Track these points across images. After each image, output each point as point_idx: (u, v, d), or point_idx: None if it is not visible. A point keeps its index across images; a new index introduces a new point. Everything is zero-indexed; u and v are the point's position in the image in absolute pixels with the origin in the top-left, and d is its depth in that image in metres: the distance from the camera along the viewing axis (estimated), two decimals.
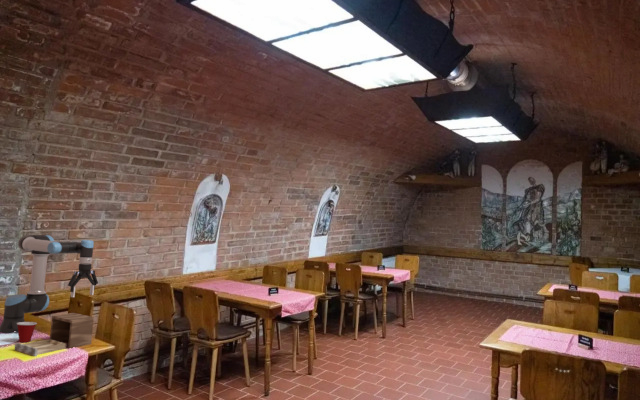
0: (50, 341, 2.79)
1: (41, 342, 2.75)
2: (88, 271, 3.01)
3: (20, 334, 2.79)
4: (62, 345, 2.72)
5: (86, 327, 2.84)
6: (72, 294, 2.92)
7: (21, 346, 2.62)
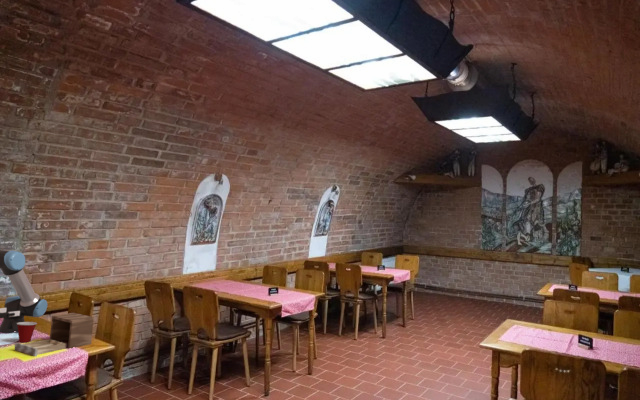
0: (50, 341, 2.79)
1: (41, 342, 2.75)
2: None
3: (20, 334, 2.79)
4: (62, 345, 2.72)
5: (86, 327, 2.84)
6: None
7: (21, 346, 2.62)
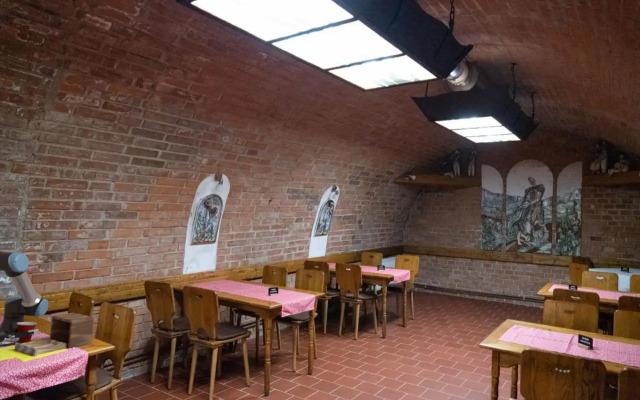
0: (50, 341, 2.79)
1: (41, 342, 2.75)
2: None
3: None
4: (62, 345, 2.72)
5: (86, 327, 2.84)
6: None
7: (21, 346, 2.62)
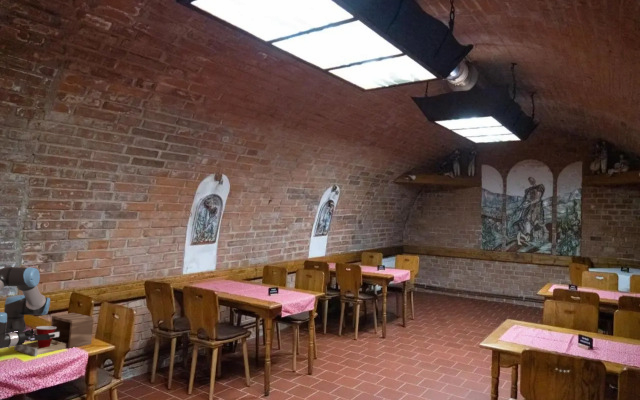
0: None
1: None
2: None
3: None
4: (62, 345, 2.72)
5: (86, 327, 2.84)
6: None
7: (21, 346, 2.61)
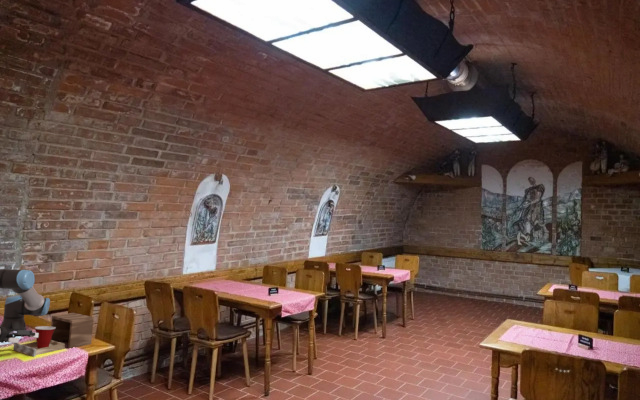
0: None
1: None
2: (6, 336, 2.49)
3: (38, 339, 2.66)
4: (61, 345, 2.71)
5: (86, 327, 2.84)
6: None
7: (20, 346, 2.61)
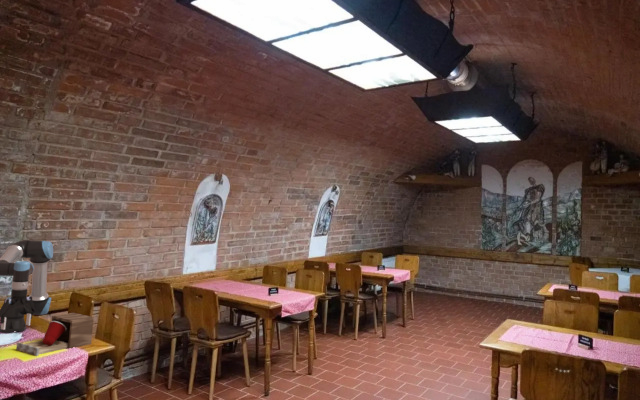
0: None
1: None
2: (23, 298, 2.57)
3: (48, 331, 2.73)
4: (64, 345, 2.73)
5: (86, 327, 2.84)
6: (2, 326, 2.49)
7: (23, 346, 2.62)
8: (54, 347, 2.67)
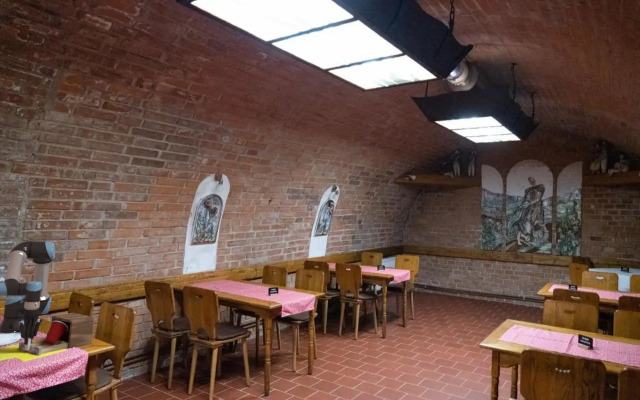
0: None
1: None
2: (36, 316, 2.64)
3: (50, 331, 2.75)
4: (65, 344, 2.74)
5: (86, 327, 2.84)
6: (26, 347, 2.61)
7: None
8: (56, 347, 2.68)
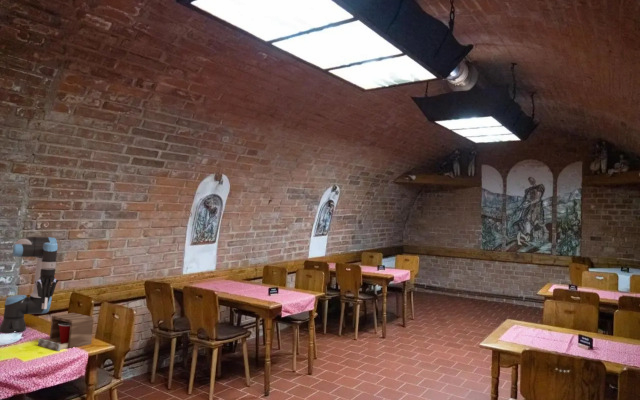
0: None
1: None
2: (52, 276, 2.72)
3: (61, 335, 2.79)
4: None
5: (86, 327, 2.84)
6: (43, 305, 2.68)
7: (44, 341, 2.74)
8: None
